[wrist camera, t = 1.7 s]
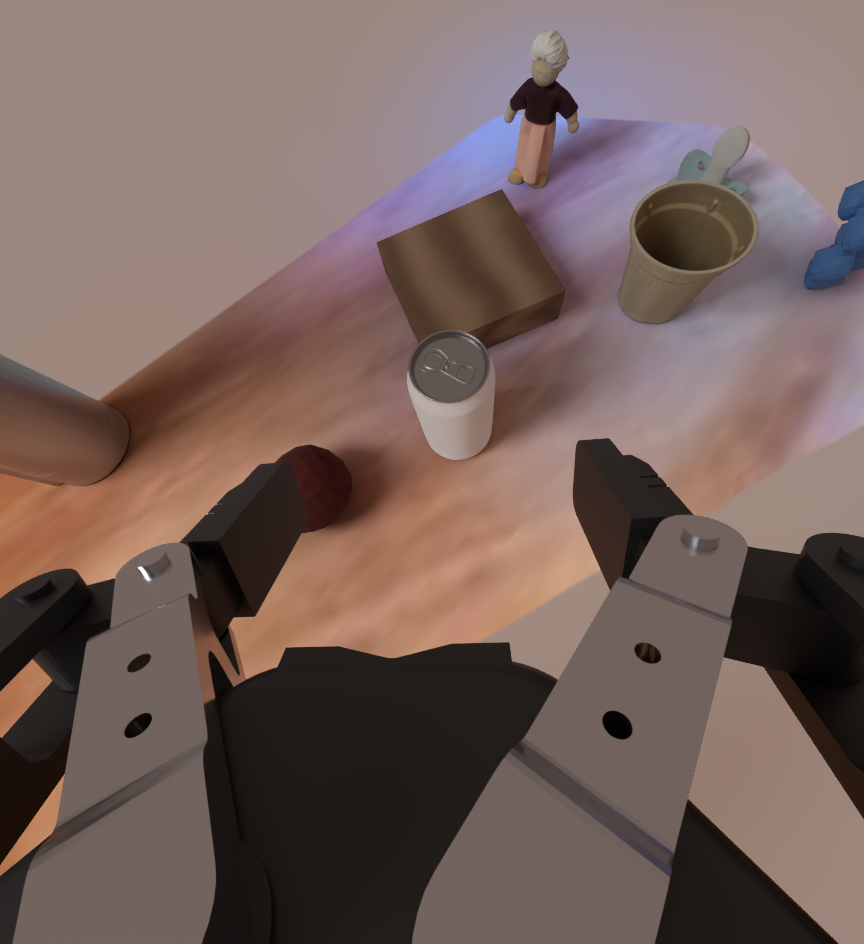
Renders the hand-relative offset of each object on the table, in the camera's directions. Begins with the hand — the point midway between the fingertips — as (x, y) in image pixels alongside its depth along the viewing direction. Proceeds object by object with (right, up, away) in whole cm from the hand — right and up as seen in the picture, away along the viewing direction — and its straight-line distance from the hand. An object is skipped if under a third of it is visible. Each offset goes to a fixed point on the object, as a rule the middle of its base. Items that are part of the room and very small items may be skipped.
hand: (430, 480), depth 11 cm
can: (+3, +4, +27) cm, 28 cm away
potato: (-11, -2, +27) cm, 29 cm away
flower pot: (+22, +18, +29) cm, 40 cm away
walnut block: (+4, +19, +31) cm, 37 cm away
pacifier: (+28, +30, +31) cm, 52 cm away
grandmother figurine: (+12, +34, +35) cm, 50 cm away
